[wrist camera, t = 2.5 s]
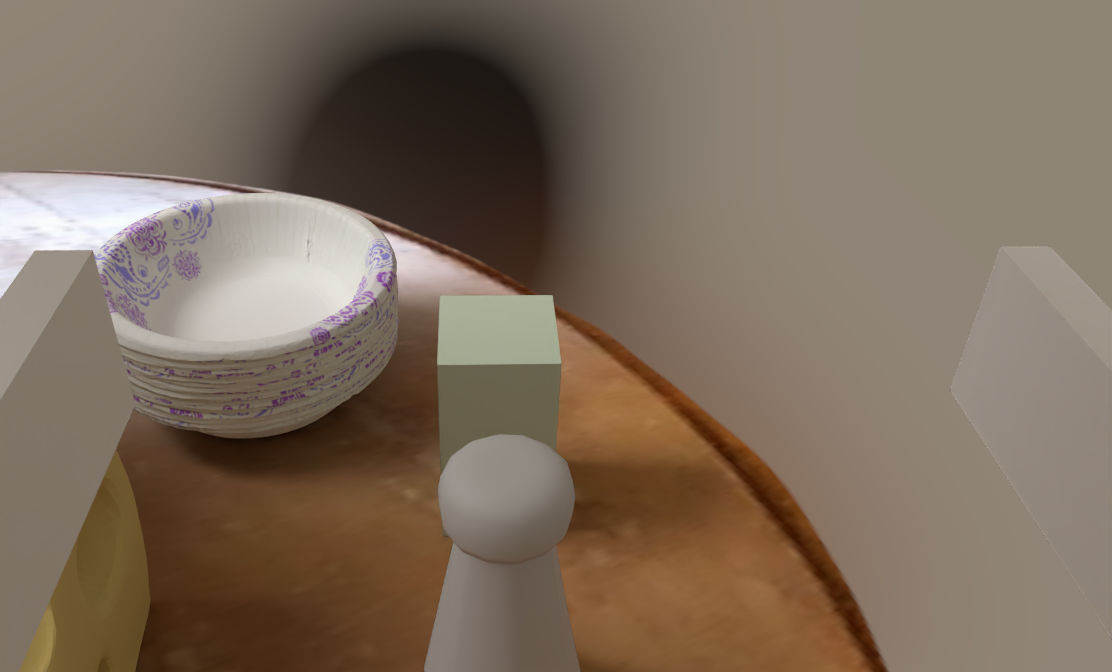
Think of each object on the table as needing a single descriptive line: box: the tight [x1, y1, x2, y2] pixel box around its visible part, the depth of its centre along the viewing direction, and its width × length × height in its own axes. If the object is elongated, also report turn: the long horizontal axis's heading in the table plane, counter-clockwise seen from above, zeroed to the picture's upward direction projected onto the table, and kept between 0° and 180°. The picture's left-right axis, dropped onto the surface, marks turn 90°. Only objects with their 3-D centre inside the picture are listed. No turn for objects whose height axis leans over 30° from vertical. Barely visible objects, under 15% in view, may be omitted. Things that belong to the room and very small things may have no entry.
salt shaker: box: [424, 434, 580, 672], centre depth 33 cm, size 6×6×13 cm
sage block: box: [437, 295, 561, 536], centre depth 44 cm, size 5×5×10 cm
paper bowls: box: [94, 193, 399, 438], centre depth 50 cm, size 15×15×8 cm
